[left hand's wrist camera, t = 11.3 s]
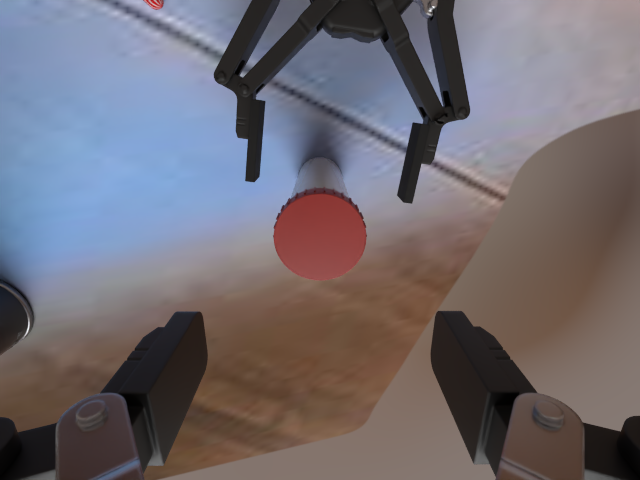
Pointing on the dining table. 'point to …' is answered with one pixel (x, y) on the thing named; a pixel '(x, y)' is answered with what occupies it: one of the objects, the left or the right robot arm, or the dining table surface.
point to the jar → (320, 176)
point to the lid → (320, 234)
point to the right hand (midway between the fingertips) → (329, 189)
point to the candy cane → (155, 3)
